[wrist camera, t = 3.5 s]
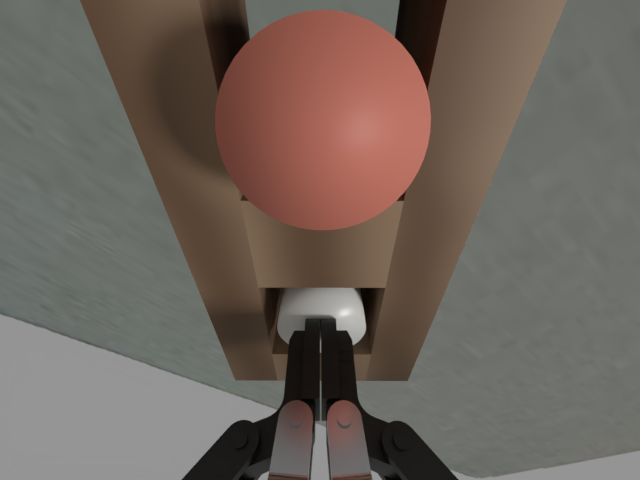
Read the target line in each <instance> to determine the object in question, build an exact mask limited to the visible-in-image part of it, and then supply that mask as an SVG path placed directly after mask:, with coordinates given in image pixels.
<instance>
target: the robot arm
mask: <svg viewBox="0 0 640 480" xmlns="http://www.w3.org/2000/svg"><path fill="white" fill-rule="evenodd" d="M315 421H320V319H305V331H294V332H293V334H292V336H291V338H290V340H289V347H288V358H287V368H286V379H285V389H284V398H283V401H282V404H281V406H280V407H279V409H278V410H277V411H276V412H275V413H274V414H272V415H271V416H269V417H266V418H264V419H261V420H259V421H256V422H254V423H252V422H251V421H249V420H239V421H237V422H235V423H233V424H232V425H231V426H230V427H229V428H228V429H227V430H226V431H225V432H224V433H223V434H222V435H221V436H220V438H219V439H218V440H217V441H216V442H215V443H214V444H213V445H212V446H211V447H210V449H209V450H208V451H207V452H206V453H205V454H204V455H203V456H202V457H201V459H200V460H199V461H198V462H197V463H196V464H195V465H194V466H193V467H192V469H191V470H190V471H189V472H188V473H187V474H186V475H185V476H184V477H183V479H182V480H258V479H259V477H260V476H261V475H262V474H264V473H266V472H268V471H269V475H268V479H267V480H311V474H312V461H313V448H314V443H315ZM321 421H326V448H327V461H328V474H329V480H373V479H372V475H371V470H372V471H374V472H376V473H378V475H379V476H380V477H381V479H382V480H458V479H457V477H456V476H455V475H454V474H453V473H452V472H451V471H450V470H449V469H448V467H447V466H446V465H445V464H444V463H443V462H442V461H441V460H440V459H439V457H438V456H437V455H436V454H435V453H434V452H433V451H432V450H431V449H430V447H429V446H428V445H427V444H426V443H425V442H424V441H423V440H422V439H421V438H420V436H419V435H418V434H417V433H416V432H415V431H414V430H413V429H412V428H411V427H410V426H409V425H408V424H406V423H404V422H402V421H392V422H390V423H388V422H386V421H383V420H381V419H378V418H376V417H373V416H371V415H370V414H368V413H367V412H366V411H365V410H364V409H363V408H362V406H361V404H360V402H359V399H358V394H357V384H356V374H355V364H354V354H353V344H352V339H351V337H350V335H349V333H348V332H347V330H337V328H336V319H321Z"/></svg>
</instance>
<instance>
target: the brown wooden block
mask: <svg viewBox="0 0 640 480" xmlns="http://www.w3.org/2000/svg"><path fill="white" fill-rule="evenodd" d="M566 1H567V0H400V1H399V9H398V16H397V24H396V31H395V38H396V39H397V40H398V41H399V42H400V43H401V44H402V45H403V46H404V48H405V49H406V50H407V51H408V53H409V54H410V55H411V57H412V58H413V60H414V61H415V63H416V65H417V67H418V69H419V70H420V72H421V75H422V77H423V80H424V83H425V85H426V88H427V93H428V97H429V102H430V112H431V127H430V136H429V142H428V147H427V150H426V154H425V157H424V160H423V162H422V164H421V167H420V169H419V171H418V173H417V174H416V176H415V178H414V179H413V181H412V183H411V184H410V185H409V187H408V188H407V189H406V191H405V192H404V193H403V194H402V195H401V196H400V197H399V198H398V199H397V200H396V201H395V202H394V203H393V204H392V205H391V206H389V207H388V208H387V209H386V210H384V211H383V212H381V213H380V214H378V215H377V216H375V217H373V218H371V219H369V220H367V221H365V222H362V223H360V224H357V225H354V226H350V227H347V228H342V229H335V230H309V229H303V228H298V227H295V226H291V225H288V224H285V223H283V222H280V221H278V220H276V219H274V218H272V217H270V216H268V215H267V214H265V213H264V212H262V211H261V210H259V209H258V208H257V207H256V206H254V205H253V204H252V203H251V202H250V201H249V200H248V199H247V198H246V197H245V196H244V195H243V194H242V193H241V192H240V190H239V189H238V188H237V186H236V185H235V184H234V182H233V181H232V179H231V177H230V176H229V174H228V172H227V170H226V168H225V165H224V163H223V161H222V158H221V155H220V152H219V148H218V144H217V138H216V132H215V112H216V102H217V98H218V94H219V89H220V86H221V83H222V81H223V78H224V76H225V73H226V71H227V69H228V68H229V66H230V64H231V62H232V61H233V59H234V57H235V56H236V55H237V53H238V52H239V51H240V50H241V48H242V47H243V46H244V45H245V44H246V43H247V42H248V41H249V40H250V35H249V27H248V20H247V12H246V4H245V0H80V2H81V4H82V7H83V9H84V12H85V14H86V17H87V19H88V21H89V24H90V26H91V29H92V31H93V34H94V36H95V39H96V41H97V43H98V46H99V48H100V51H101V53H102V56H103V58H104V61H105V63H106V65H107V68H108V70H109V73H110V75H111V78H112V80H113V83H114V85H115V87H116V90H117V92H118V95H119V97H120V100H121V102H122V105H123V107H124V109H125V112H126V114H127V117H128V119H129V122H130V124H131V127H132V129H133V131H134V134H135V136H136V139H137V141H138V144H139V146H140V149H141V151H142V153H143V156H144V158H145V161H146V163H147V166H148V168H149V171H150V173H151V175H152V178H153V180H154V183H155V185H156V188H157V190H158V193H159V195H160V197H161V200H162V202H163V205H164V207H165V210H166V212H167V215H168V217H169V219H170V222H171V224H172V227H173V229H174V232H175V234H176V237H177V239H178V241H179V244H180V246H181V249H182V251H183V254H184V256H185V258H186V261H187V263H188V266H189V268H190V271H191V273H192V276H193V278H194V280H195V283H196V285H197V288H198V290H199V293H200V295H201V298H202V300H203V302H204V305H205V307H206V310H207V312H208V315H209V317H210V320H211V322H212V324H213V327H214V329H215V332H216V334H217V337H218V339H219V342H220V344H221V346H222V349H223V351H224V354H225V356H226V359H227V361H228V364H229V366H230V368H231V371H232V373H233V376H234V378H235V380H248V381H285V379H286V368H287V358H288V347H289V344H288V343H286V342H285V341H284V340H283V339H282V338H281V337H280V335H279V333H278V330H277V324H278V317H279V310H280V303H281V296H282V289H283V288H361V294H362V301H363V308H364V315H365V322H366V331H365V334H364V336H363V337H362V338H361V340H360V341H359V342H357V343H356V344H355V345H353V354H354V364H355V374H356V381H408V379H409V377H410V374H411V372H412V370H413V367H414V365H415V362H416V360H417V358H418V355H419V353H420V350H421V348H422V346H423V343H424V341H425V338H426V336H427V334H428V331H429V329H430V326H431V324H432V322H433V319H434V317H435V315H436V312H437V310H438V307H439V305H440V303H441V300H442V298H443V295H444V293H445V291H446V288H447V286H448V283H449V281H450V279H451V276H452V274H453V272H454V269H455V267H456V264H457V262H458V260H459V257H460V255H461V252H462V250H463V248H464V245H465V243H466V240H467V238H468V236H469V233H470V231H471V228H472V226H473V224H474V221H475V219H476V217H477V214H478V212H479V209H480V207H481V205H482V202H483V200H484V197H485V195H486V193H487V190H488V188H489V185H490V183H491V181H492V178H493V176H494V173H495V171H496V169H497V166H498V164H499V162H500V159H501V157H502V154H503V152H504V150H505V147H506V145H507V142H508V140H509V138H510V135H511V133H512V130H513V128H514V126H515V123H516V121H517V119H518V116H519V114H520V111H521V109H522V107H523V104H524V102H525V99H526V97H527V95H528V92H529V90H530V87H531V85H532V83H533V80H534V78H535V75H536V73H537V71H538V68H539V66H540V64H541V61H542V59H543V56H544V54H545V52H546V49H547V47H548V44H549V42H550V40H551V37H552V35H553V32H554V30H555V28H556V25H557V23H558V21H559V18H560V16H561V13H562V11H563V9H564V6H565V4H566ZM320 381H321V353H320Z"/></svg>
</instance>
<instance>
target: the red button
mask: <svg viewBox="0 0 640 480" xmlns="http://www.w3.org/2000/svg"><path fill="white" fill-rule="evenodd" d="M430 127H431V112H430V102H429V97H428V93H427V88H426V85H425V83H424V80H423V77H422V75H421V72H420V70H419V69H418V67H417V65H416V63H415V61H414V60H413V58H412V57H411V55H410V54H409V53H408V51H407V50H406V49H405V48H404V46H403V45H402V44H401V43H400V42H399V41H398V40H397V39H396V38H395V37H393V36H392V35H391V34H390V33H389V32H388V31H386V30H385V29H383V28H382V27H380V26H379V25H377V24H376V23H374V22H371V21H369V20H367V19H365V18H363V17H360V16H358V15H354V14H350V13H346V12H342V11H333V10H314V11H305V12H301V13H297V14H293V15H289V16H287V17H284V18H282V19H280V20H278V21H275V22H273V23H271V24H270V25H268V26H267V27H265V28H264V29H262V30H261V31H259V32H258V33H257V34H255V35H254V36H253V37H252V38H251V39H250V40H249V41H248V42H247V43H246V44H245V45H244V46H243V47H242V48H241V50H240V51H239V52H238V53H237V55H236V56H235V57H234V59H233V61H232V62H231V64H230V66H229V68H228V69H227V71H226V73H225V76H224V78H223V81H222V83H221V86H220V89H219V94H218V98H217V102H216V112H215V132H216V138H217V144H218V148H219V152H220V155H221V158H222V161H223V163H224V165H225V168H226V170H227V172H228V174H229V176H230V177H231V179H232V181H233V182H234V184H235V185H236V186H237V188H238V189H239V190H240V192H241V193H242V194H243V195H244V196H245V197H246V198H247V199H248V200H249V201H250V202H251V203H252V204H253V205H254V206H256V207H257V208H258V209H259V210H261V211H262V212H264V213H265V214H267V215H268V216H270V217H272V218H274V219H276V220H278V221H280V222H283V223H285V224H288V225H291V226H295V227H298V228H303V229H309V230H335V229H342V228H347V227H350V226H354V225H357V224H360V223H362V222H365V221H367V220H369V219H371V218H373V217H375V216H377V215H378V214H380V213H381V212H383V211H384V210H386V209H387V208H388V207H389V206H391V205H392V204H393V203H394V202H395V201H396V200H397V199H398V198H399V197H400V196H401V195H402V194H403V193H404V192H405V191H406V189H407V188H408V187H409V185H410V184H411V183H412V181H413V179H414V178H415V176H416V174H417V173H418V171H419V169H420V167H421V164H422V162H423V160H424V157H425V154H426V150H427V147H428V142H429V136H430Z"/></svg>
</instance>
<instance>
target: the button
mask: <svg viewBox="0 0 640 480" xmlns="http://www.w3.org/2000/svg"><path fill="white" fill-rule="evenodd" d="M305 319H320V353H321V319H336V328H337V330H347V332H348V333H349V335H350V337H351V339H352V344H353V345H355V344H356V343H357V342H359V341H360V340H361V338H362V337H363V336H364V334H365V331H366V322H365V315H364V308H363V301H362V294H361V288H283V289H282V296H281V303H280V310H279V317H278V324H277V330H278V333H279V335H280V337H281V338H282V339H283V340H284V341H285V342H286V343H288V344H289V340H290V338H291V336H292V334H293V332H294V331H305Z"/></svg>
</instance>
